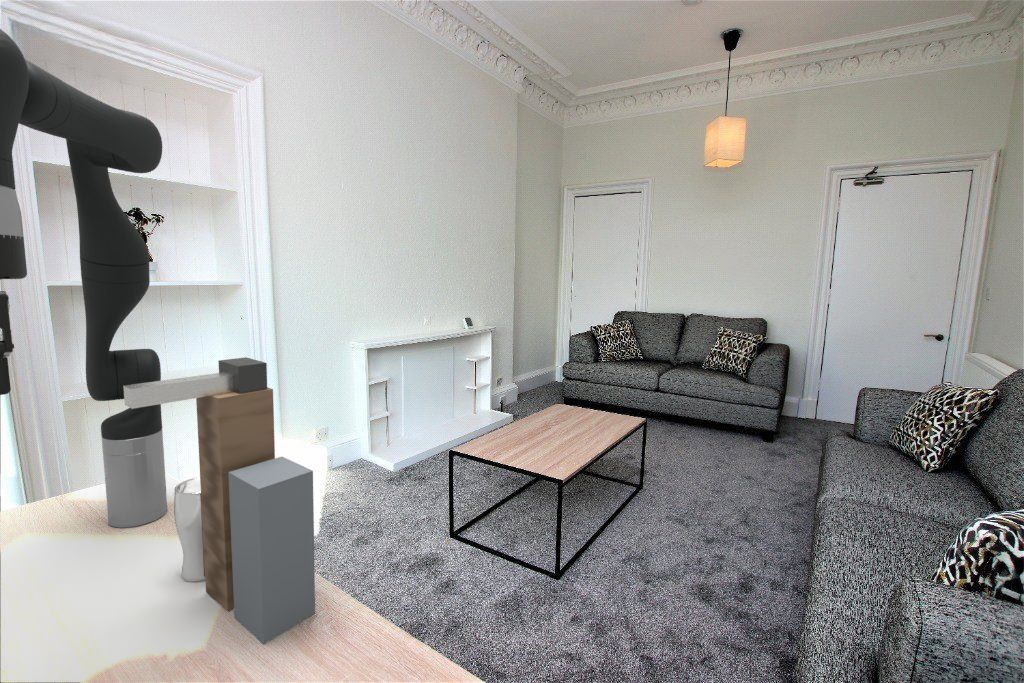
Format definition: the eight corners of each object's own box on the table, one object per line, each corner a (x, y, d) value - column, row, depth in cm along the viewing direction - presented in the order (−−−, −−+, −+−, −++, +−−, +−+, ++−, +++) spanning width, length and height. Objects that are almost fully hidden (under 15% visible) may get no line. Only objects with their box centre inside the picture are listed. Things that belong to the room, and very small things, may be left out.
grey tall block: (234, 618, 69) (228, 472, 66) (285, 590, 75) (281, 456, 72) (263, 644, 64) (258, 489, 61) (315, 613, 71) (312, 470, 67)
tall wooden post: (205, 592, 74) (195, 389, 70) (255, 568, 80) (249, 381, 76) (227, 611, 70) (218, 398, 66) (278, 585, 76) (273, 389, 72)
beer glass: (168, 575, 78) (163, 487, 76) (212, 553, 84) (208, 472, 82) (193, 589, 74) (188, 498, 72) (237, 566, 81) (233, 481, 79)
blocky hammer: (119, 402, 62) (117, 371, 61) (247, 382, 75) (246, 357, 74) (137, 411, 59) (135, 379, 58) (267, 389, 72) (266, 362, 71)
